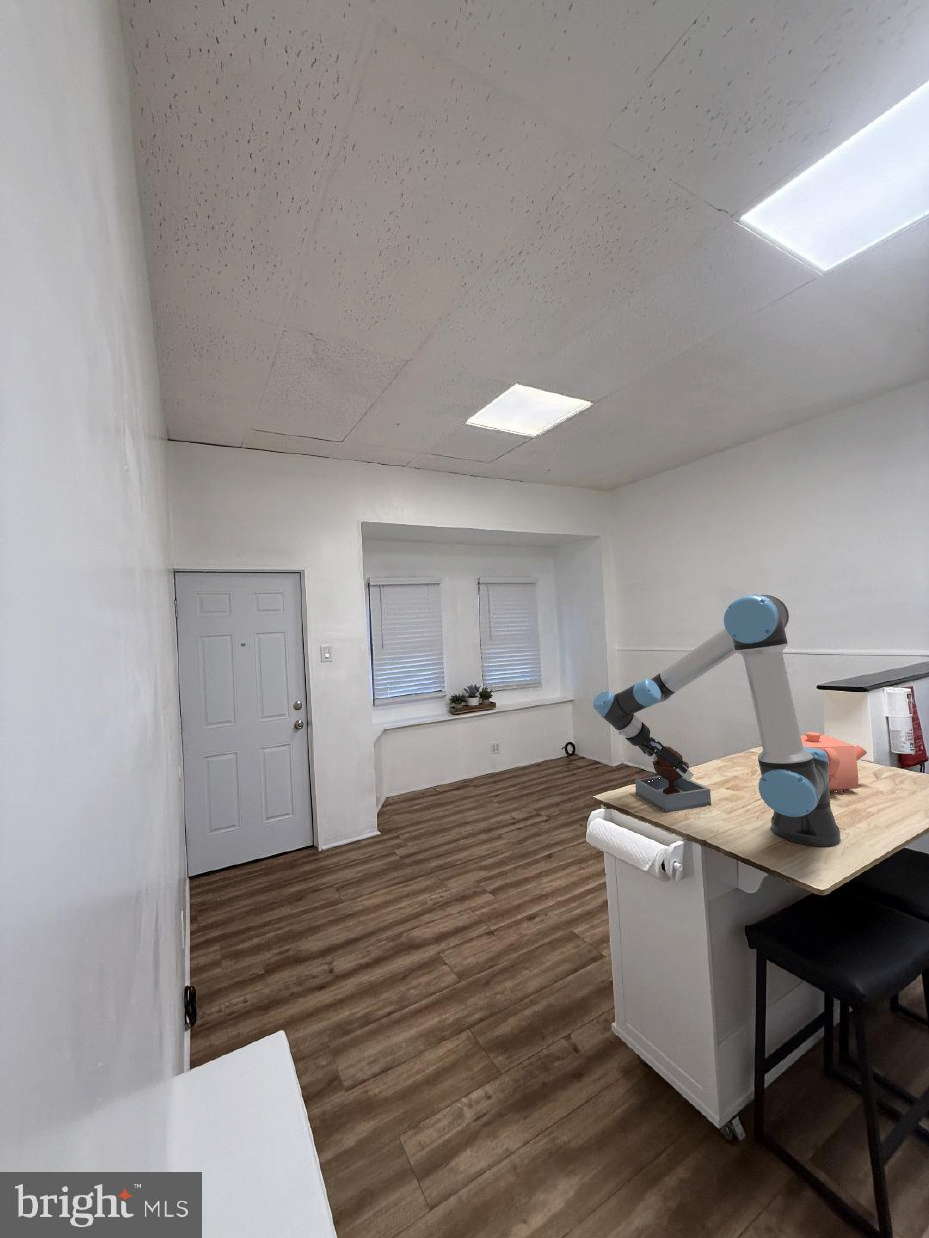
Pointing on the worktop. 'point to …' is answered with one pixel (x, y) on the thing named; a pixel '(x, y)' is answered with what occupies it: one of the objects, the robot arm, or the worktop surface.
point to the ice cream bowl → (668, 771)
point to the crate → (686, 799)
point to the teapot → (837, 759)
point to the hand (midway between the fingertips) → (678, 771)
